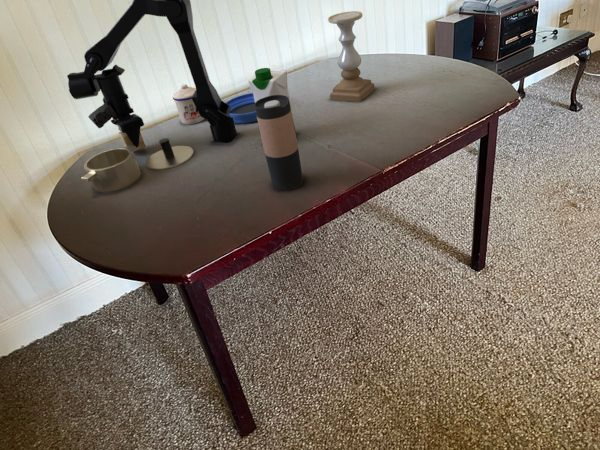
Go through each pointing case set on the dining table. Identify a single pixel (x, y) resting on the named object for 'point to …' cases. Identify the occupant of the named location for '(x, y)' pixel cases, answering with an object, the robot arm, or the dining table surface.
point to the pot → (112, 169)
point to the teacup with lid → (186, 105)
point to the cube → (128, 142)
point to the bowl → (243, 108)
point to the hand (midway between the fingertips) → (134, 144)
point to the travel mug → (279, 141)
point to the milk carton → (269, 84)
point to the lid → (169, 156)
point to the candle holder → (349, 61)
